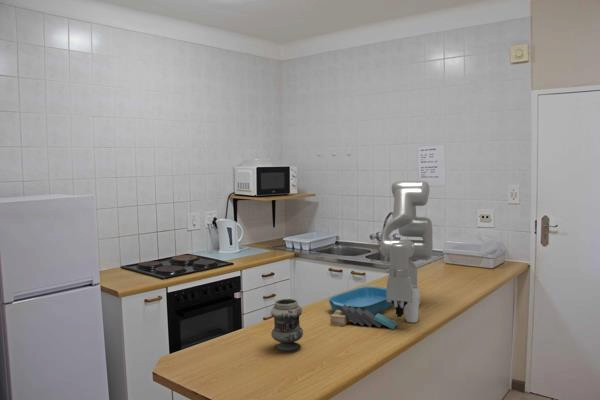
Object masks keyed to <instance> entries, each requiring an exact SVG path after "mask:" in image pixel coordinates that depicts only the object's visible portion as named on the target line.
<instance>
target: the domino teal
mask: <svg viewBox="0 0 600 400" xmlns="http://www.w3.org/2000/svg"><path fill="white" fill-rule="evenodd" d="M374 320H375V321H377V322H379V323H381V324H382V326H383V325H384V326H386V327H388V328H389V329H392V330H395V328H396V326H397V324H398V322H397V321H395V320H393V319H390V318H388V317H387V316H385V315H382V314H381V313H380V312H378V313H376V314H375V317H374Z"/></svg>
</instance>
